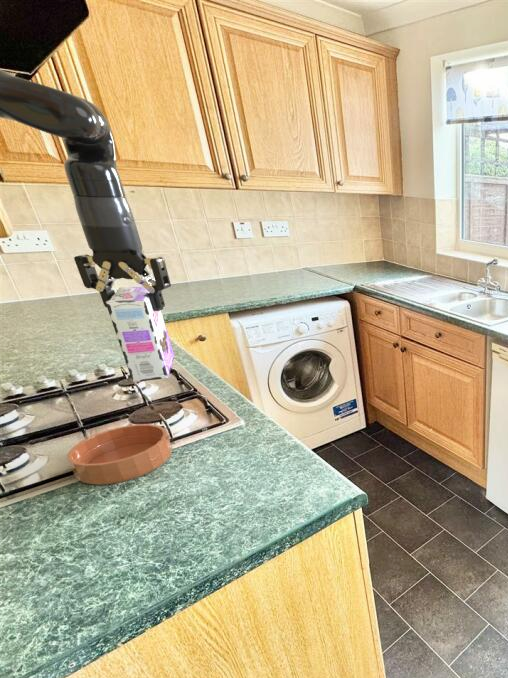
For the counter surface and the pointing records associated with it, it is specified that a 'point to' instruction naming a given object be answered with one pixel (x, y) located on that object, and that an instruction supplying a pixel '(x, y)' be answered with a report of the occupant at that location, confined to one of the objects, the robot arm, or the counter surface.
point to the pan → (120, 454)
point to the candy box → (141, 334)
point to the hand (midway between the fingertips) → (136, 309)
